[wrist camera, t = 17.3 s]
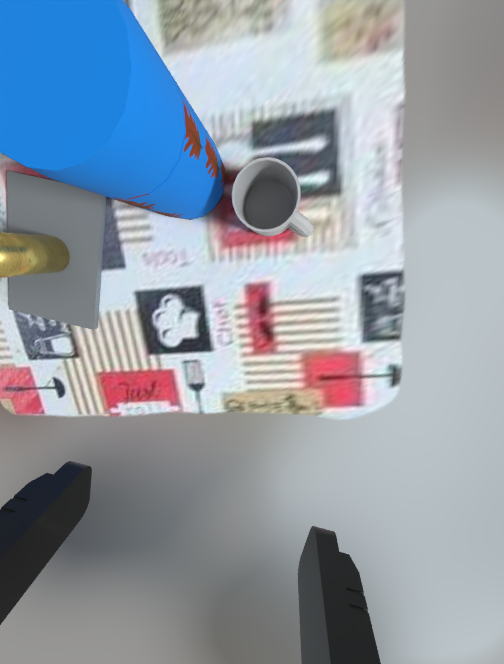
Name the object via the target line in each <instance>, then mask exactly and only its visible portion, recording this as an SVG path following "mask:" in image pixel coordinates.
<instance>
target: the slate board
mask: <svg viewBox="0 0 504 664" xmlns="http://www.w3.org/2000/svg"><path fill="white" fill-rule="evenodd" d="M106 199H107V197H106V196H103V195H100V194H97V193H94V192H91V191H88V190H84V189H81V188H78V187H75V186H72V185H69V184H66V183H62V182H58V181H53V180H49V179H44V178H39V177H35V176H30V175H26V174H21V173H17V172H12V171H8V170H7V227H8V233H17V234H32V235H47V236H55V237H57V238H59V239H60V240H62V241H63V242H64V244H65V245H66V246H67V248H68V251H69V255H70V260H69V264H68V266H67V267H66V269H65V270H63V271H61V272H56V273H45V274H34V275H23V276H13V277H8V284H9V309H11V310H15V311H19V312H23V313H27V314H31V315H35V316H40V317H44V318H48V319H52V320H56V321H60V322H64V323H68V324H73V325H77V326H81V327H85V328H89V329H93V330H94V329H96V328H98V314H99V299H100V285H101V271H102V257H103V242H104V228H105V214H106Z"/></svg>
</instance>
